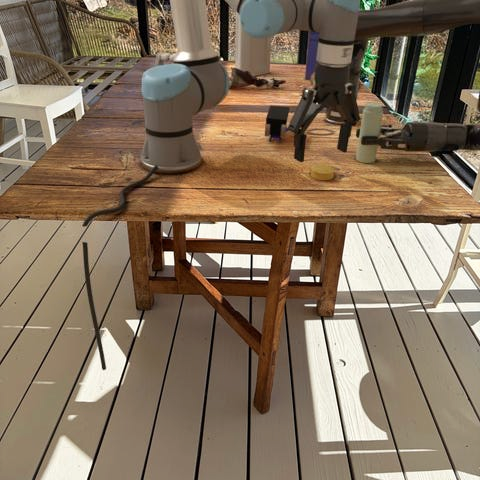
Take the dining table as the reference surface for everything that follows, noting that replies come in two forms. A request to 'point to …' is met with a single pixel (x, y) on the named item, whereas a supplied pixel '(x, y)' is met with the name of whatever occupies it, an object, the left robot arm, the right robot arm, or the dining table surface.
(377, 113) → the jar
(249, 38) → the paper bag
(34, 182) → the dining table surface
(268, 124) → the figurine character
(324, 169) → the lid
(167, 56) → the toy
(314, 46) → the cereal box
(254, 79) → the figurine
